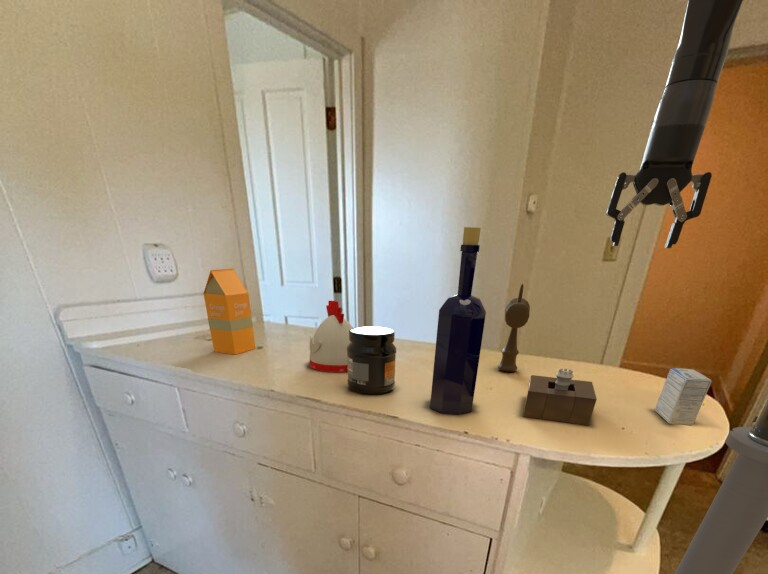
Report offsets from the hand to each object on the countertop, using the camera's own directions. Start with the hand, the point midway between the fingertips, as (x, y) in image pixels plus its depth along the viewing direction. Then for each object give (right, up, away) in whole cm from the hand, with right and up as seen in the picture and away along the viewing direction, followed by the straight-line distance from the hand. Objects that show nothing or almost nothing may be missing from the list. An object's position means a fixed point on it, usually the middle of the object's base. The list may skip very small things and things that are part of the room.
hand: (641, 247), depth 76 cm
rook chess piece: (-12, -27, +9) cm, 31 cm away
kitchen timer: (-58, -9, +34) cm, 68 cm away
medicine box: (+11, -29, +8) cm, 32 cm away
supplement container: (-49, -20, +19) cm, 56 cm away
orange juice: (-88, -1, +45) cm, 99 cm away
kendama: (-14, -11, +35) cm, 39 cm away
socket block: (-12, -27, +9) cm, 31 cm away
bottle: (-32, -26, +10) cm, 43 cm away
